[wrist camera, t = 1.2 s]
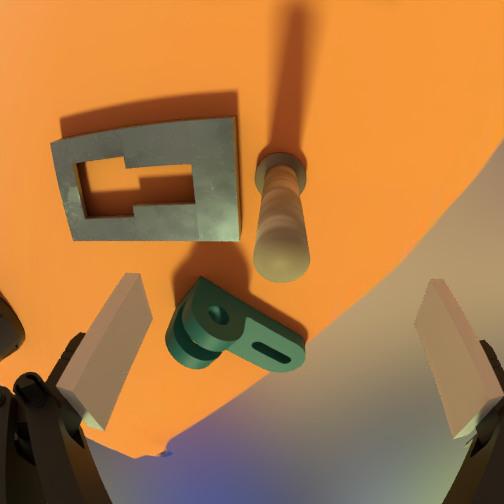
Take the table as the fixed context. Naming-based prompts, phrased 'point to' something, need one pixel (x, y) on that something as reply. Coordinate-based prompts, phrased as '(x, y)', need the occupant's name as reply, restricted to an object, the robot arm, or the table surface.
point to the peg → (281, 219)
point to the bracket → (229, 332)
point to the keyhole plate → (157, 154)
